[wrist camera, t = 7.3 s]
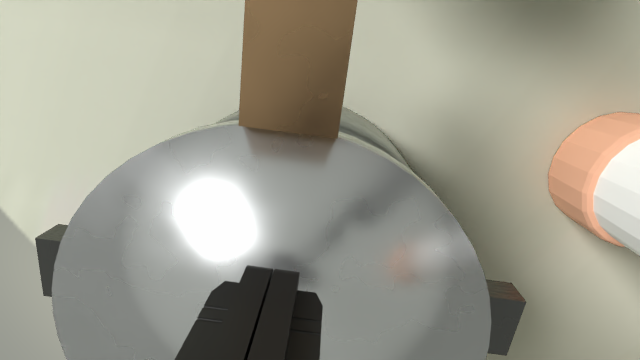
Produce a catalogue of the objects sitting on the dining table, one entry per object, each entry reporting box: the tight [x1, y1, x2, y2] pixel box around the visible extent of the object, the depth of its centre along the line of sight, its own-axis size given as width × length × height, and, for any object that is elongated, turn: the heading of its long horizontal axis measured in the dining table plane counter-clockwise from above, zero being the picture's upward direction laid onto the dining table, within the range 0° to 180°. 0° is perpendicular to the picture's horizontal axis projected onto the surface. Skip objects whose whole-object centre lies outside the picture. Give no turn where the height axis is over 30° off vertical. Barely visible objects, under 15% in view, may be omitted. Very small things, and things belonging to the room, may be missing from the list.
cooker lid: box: [52, 0, 491, 360], centre depth 13 cm, size 17×23×3 cm
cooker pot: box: [35, 107, 526, 355], centre depth 20 cm, size 22×18×10 cm
